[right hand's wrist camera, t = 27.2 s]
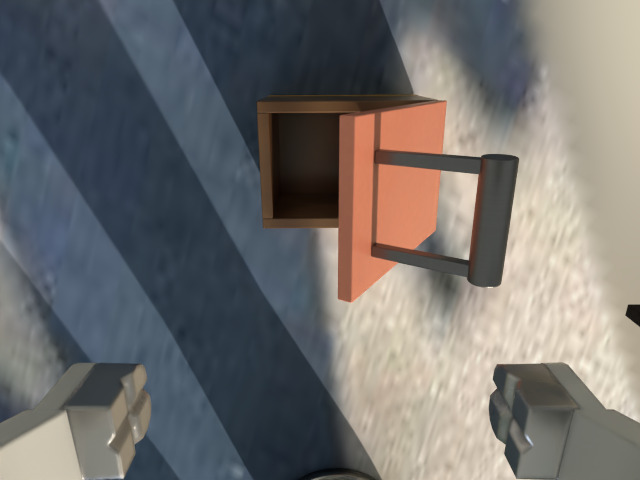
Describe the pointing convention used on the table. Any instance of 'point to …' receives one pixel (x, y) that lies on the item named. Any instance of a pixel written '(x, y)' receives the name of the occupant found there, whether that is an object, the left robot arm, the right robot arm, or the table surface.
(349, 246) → the lid
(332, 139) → the chest
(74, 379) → the right robot arm
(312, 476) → the left robot arm
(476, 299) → the table surface
